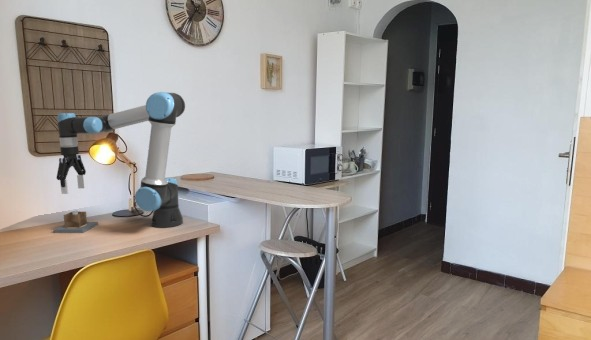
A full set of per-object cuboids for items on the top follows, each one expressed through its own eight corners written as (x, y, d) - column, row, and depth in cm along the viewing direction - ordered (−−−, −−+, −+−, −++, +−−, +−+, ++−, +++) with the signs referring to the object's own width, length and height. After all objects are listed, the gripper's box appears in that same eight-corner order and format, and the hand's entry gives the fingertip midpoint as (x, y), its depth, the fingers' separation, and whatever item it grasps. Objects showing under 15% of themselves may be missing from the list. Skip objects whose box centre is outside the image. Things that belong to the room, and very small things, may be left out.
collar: (87, 223, 211) (85, 211, 210) (79, 227, 204) (78, 215, 203) (73, 223, 211) (72, 211, 210) (64, 227, 204) (63, 215, 203)
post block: (98, 224, 214) (96, 208, 213) (82, 232, 200) (81, 215, 199) (70, 224, 215) (69, 208, 214) (53, 232, 201) (51, 215, 200)
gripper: (76, 144, 215) (80, 186, 218) (44, 149, 190) (49, 196, 193) (91, 144, 214) (94, 186, 217) (61, 148, 189) (65, 196, 192)
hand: (73, 191), depth 205 cm, fingers open, 13 cm apart
